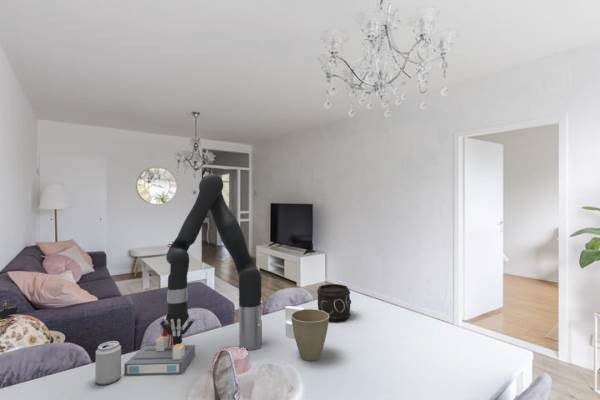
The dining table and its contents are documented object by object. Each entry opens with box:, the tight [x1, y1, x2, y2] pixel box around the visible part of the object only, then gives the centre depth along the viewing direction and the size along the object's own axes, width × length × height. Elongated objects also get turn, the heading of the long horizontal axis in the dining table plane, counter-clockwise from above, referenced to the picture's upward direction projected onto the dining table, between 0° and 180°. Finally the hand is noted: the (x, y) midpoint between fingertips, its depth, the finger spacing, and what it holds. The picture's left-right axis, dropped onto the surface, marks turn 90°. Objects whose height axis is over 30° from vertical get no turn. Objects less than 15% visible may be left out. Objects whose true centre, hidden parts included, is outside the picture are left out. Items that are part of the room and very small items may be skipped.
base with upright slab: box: [284, 305, 306, 339], centre depth 141 cm, size 9×9×12 cm
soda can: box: [160, 314, 175, 346], centre depth 132 cm, size 7×7×12 cm
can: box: [95, 340, 122, 386], centre depth 105 cm, size 8×8×12 cm
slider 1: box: [155, 336, 168, 351], centre depth 118 cm, size 3×4×4 cm
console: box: [123, 344, 196, 376], centre depth 114 cm, size 20×14×4 cm
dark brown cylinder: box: [316, 283, 352, 324], centre depth 162 cm, size 18×18×16 cm
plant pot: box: [291, 308, 330, 362], centre depth 119 cm, size 15×15×16 cm
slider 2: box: [173, 343, 186, 360], centre depth 111 cm, size 3×4×4 cm
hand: (177, 345), depth 118 cm, fingers closed
